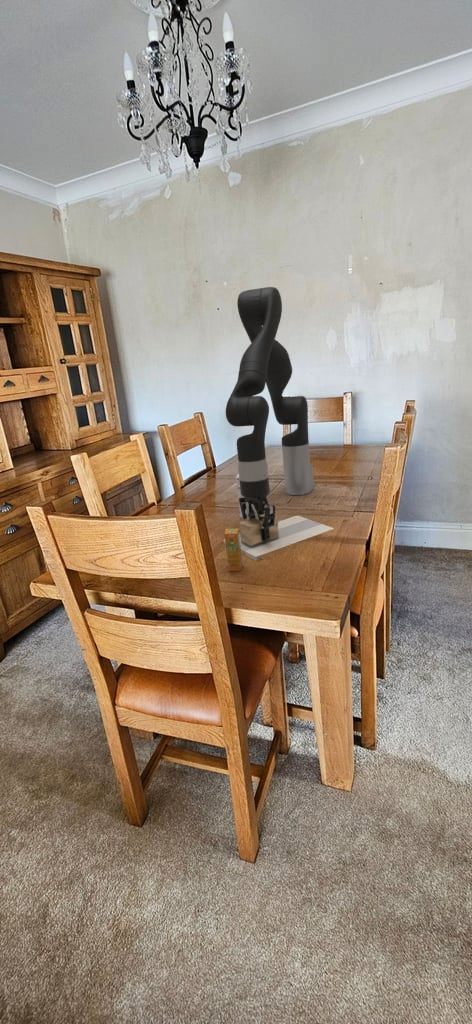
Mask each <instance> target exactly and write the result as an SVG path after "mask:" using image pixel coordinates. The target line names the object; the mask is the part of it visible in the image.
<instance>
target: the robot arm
mask: <svg viewBox="0 0 472 1024" xmlns="http://www.w3.org/2000/svg"><path fill="white" fill-rule="evenodd" d="M282 301H283V300H282V297H281V293H280V291H279V290H278V288H277V287H273V286H267V287H261V288H253V289H247V290H243V291H242V292H240V293H239V294H238V297H237V303H236V304H237V312H238V315H239V318H240V321H241V323H242V326H243V328H244V331H245V332H246V334H247V337H248V338H249V341H250V344H249V345H248V346H247V348H246V350H245V351H244V353H243V354H242V356H241V359H240V363H239V370H238V376H237V380H236V381H237V382H236V383H235V385H234V388H233V390H232V392H231V394H230V396H229V398H228V400H227V402H226V407H225V418H226V420H227V423H229V425H231V426H232V427H251V426H252V427H253V430H252V433H249V434H244V435H241V436H240V437H238V438H237V439H236V452H237V460H238V461H237V463H238V464H237V466H238V467H237V468H238V469H237V470H238V474H239V481H240V491H241V495H242V496H243V497H241V498H239V502H238V504H239V503H240V508H241V512H242V516H243V518H242V519H243V520H245V521H246V520H249V519H252V518H256V520H258V521H259V524H260V527H261V528H260V529H261V539H262V541H263V542H265V541H268V540H269V539H270V534H269V527H271V526H274V522H275V517H276V505H275V504H272V505H270V504H269V501H268V499H267V496H268V495H269V493H270V492H271V491H270V490H271V489H270V479H269V468H268V463H267V456H266V442H265V441H266V430H267V425H268V420H269V416H270V415H269V414H270V406H269V403H268V401H267V400H266V398H265V397H264V396H262V395H260V394H261V393H263V391H264V390H265V387H267V390H268V392H269V393H268V394H269V397H270V401H271V405H272V406H271V407H272V410H273V413H274V417H275V420H276V422H277V423H278V424H279V425H283V426H287V425H289V426H291V425H297V428H296V429H294V430H293V431H292V432H289V433H288V434H285V435H283V436H282V437H281V449H282V450H281V451H282V462H283V476H284V488H285V489H284V491H285V494H287V495H290V496H301V495H307V494H309V493H311V492H312V491H314V490H315V489H314V487H315V485H314V472H313V464H312V463H311V460H310V459H311V458H310V446H309V444H310V443H309V442H310V441H309V408H308V407H309V406H308V400H307V398H306V397H305V396H304V395H302V396H301V395H297V396H286V397H285V396H283V393H284V391H285V389H286V387H287V386H288V383H289V382H290V380H291V377H292V375H293V366H292V363H291V358H290V354H289V353H288V350H287V349H286V348H285V346H283V345H282V343H280V342H279V341H278V340H277V339H276V337H277V334H278V329H279V325H280V324H281V323H280V322H281V319H282V314H283V313H282V312H283V311H282V310H283V303H282ZM245 510H246V513H245ZM262 515H264V516H262ZM260 516H261V517H260ZM263 519H264V524H263V521H262V520H263ZM269 520H270V521H269Z"/></svg>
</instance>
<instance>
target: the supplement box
mask: <svg viewBox="0 0 472 1024" xmlns="http://www.w3.org/2000/svg"><path fill="white" fill-rule="evenodd" d="M239 534H240V531H239V527H238V528H237V527H236V528H225V530H224V539H225V544H226V545H225V544H224V545H225V552H226V559H227V569H228V572H241V571H242V568H243V565H244V563H243V558H242V557H243V554H242V553H241V545H240V536H239Z"/></svg>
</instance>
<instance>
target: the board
mask: <svg viewBox="0 0 472 1024" xmlns="http://www.w3.org/2000/svg"><path fill="white" fill-rule="evenodd" d="M332 530H334V527H331V526H329V525H326V524H324V523H320V522H316V521H314V520H311V519H309V518H306V517H303V516H301V515H299V514H298V515H295V516H291V517H288V518H285V519H281V520H279V521H278V532H279V538H276V539H273V540H270V541H267V542H264V543H262V544H259V545H256V546H253V547H250V546H248V545H246V544H244V543H242V542H241V540H240V545H241V555H244V556H246V557H248V558H249V559H251V560H253V561H255V562H258V561H260V560H262V557H260V556H262V555H265V554H268V553H272V552H273V551H277V550H279V549H281V548H285V547H287V546H290V545H292V544H295V543H298V542H302V541H304V540H307V539H309V538H312V537H315V536H318V535H320V534H321V535H322V534H324V533H327V532H329V531H332ZM239 536H240V533H239ZM222 541H223V545H224V546H226V544H225V538H224V539H222Z"/></svg>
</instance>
